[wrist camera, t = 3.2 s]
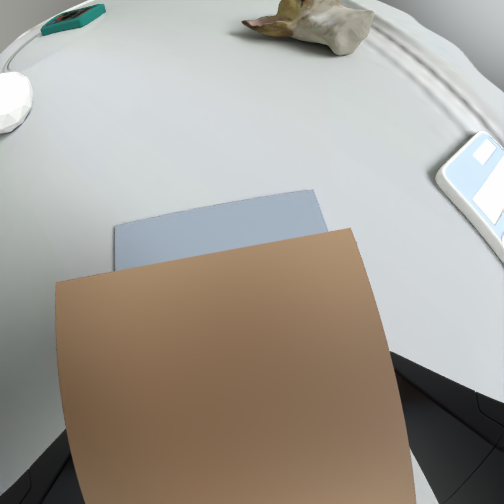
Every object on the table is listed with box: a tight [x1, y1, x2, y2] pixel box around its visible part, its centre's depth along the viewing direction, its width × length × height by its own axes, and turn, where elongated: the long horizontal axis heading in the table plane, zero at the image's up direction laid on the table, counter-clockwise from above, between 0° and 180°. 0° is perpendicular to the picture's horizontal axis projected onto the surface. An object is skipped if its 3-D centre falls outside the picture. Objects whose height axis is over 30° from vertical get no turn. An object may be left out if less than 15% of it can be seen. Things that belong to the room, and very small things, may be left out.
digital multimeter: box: [41, 4, 106, 36], centre depth 40 cm, size 8×15×3 cm, turn 70°
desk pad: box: [115, 190, 328, 271], centre depth 17 cm, size 18×14×1 cm
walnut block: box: [55, 228, 416, 504], centre depth 9 cm, size 5×5×13 cm
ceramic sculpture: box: [241, 0, 374, 56], centre depth 28 cm, size 11×9×15 cm
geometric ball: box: [0, 71, 33, 134], centre depth 23 cm, size 8×8×8 cm
